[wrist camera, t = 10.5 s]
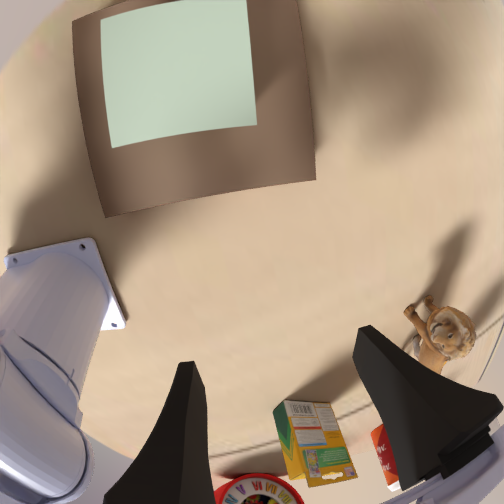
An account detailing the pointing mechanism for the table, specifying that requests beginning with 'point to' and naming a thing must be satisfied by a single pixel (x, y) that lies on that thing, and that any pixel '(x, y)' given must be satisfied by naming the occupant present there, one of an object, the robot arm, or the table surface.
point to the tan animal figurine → (441, 335)
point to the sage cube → (177, 70)
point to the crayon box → (312, 442)
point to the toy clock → (257, 491)
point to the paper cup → (386, 457)
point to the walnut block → (210, 141)
